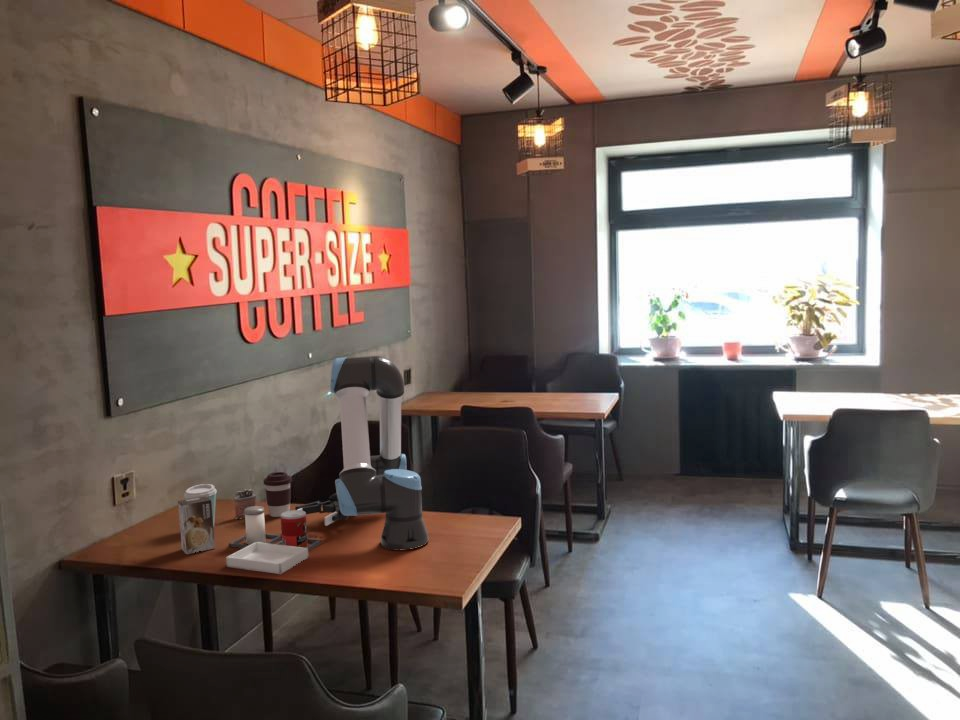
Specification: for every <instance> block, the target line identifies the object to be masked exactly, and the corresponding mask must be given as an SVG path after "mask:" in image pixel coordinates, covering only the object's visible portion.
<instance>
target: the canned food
mask: <svg viewBox="0 0 960 720" xmlns="http://www.w3.org/2000/svg"><path fill="white" fill-rule="evenodd" d="M280 526H281V527H280V528H281V529H280V531H281V535H282V539H281V541H282V545H286V546H295V547H303V548H306V547H307V546H308V542H307V538H308V530H307V527H308V526H307V514H306V512H305V511H301V510H295V509H294V510H293V509H292V510H291V509H290V511H286V512H283V513H282V514H281V517H280Z"/></svg>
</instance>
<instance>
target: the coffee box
mask: <svg viewBox="0 0 960 720" xmlns="http://www.w3.org/2000/svg"><path fill="white" fill-rule="evenodd" d="M177 504H178V507H177V508H178V509H177V510H178V520H179V530H180V542H181V550H182V551H183V553H184V554H186V555H191V554H194V553H195V552H196V553H200V552H199V551H201V552H204V551H209V550H215V549H216V541H215V528H214V527H215V526H214V527H213V514H212V503H211V500H210V499H209V498H208V497H206V496H204V497H198V498H193V499H187V500H185V499H183V500H177ZM196 553H195V554H196Z"/></svg>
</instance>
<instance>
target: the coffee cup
mask: <svg viewBox="0 0 960 720" xmlns="http://www.w3.org/2000/svg"><path fill="white" fill-rule="evenodd" d="M292 481H293V478H292V476H291V475H288V473H287V472H285V471H284V472H283V471H278V472H277V471H276V472H271V473H268V474H267V476H266V477H265V478H263V485H265V496H266V502H267V508H268V514H269V516H270V517H272V518H281V514H282V513H283V512H286V511H291V501H292V500H291V499H292V497H291V496H292V494H291V493H292V489H291V488H292V487H291V484H292Z"/></svg>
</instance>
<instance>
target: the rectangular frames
mask: <svg viewBox="0 0 960 720" xmlns="http://www.w3.org/2000/svg"><path fill="white" fill-rule="evenodd" d="M265 537H266V538H268V537H271V538H270V540H269V541H266V543H270V544H278V545H282V534H273V533H268V532H267V533H266V532H265ZM244 539H246V534H245V535H243V536H241V537H239V538H237V539H235V540H233V541H231V542H229V543H228V547H229V546H232V547H231V548H236V547H239V548H238V549H243V548H245V547H247V546H249V545H247V544H243V543H241V542H240V541H242V540H244ZM244 541H245V540H244ZM238 542H239V543H238ZM242 542H243V541H242ZM307 543H311V544H309V545H307V547H306V548H308V552H309V551H310V550H312V549H314V548H315V547H317V546H319V545H321V544H322V543H323V540H322V539H318V538H311V537H310V538H308V537H307Z"/></svg>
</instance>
